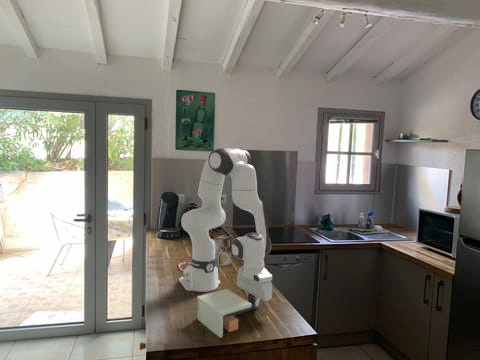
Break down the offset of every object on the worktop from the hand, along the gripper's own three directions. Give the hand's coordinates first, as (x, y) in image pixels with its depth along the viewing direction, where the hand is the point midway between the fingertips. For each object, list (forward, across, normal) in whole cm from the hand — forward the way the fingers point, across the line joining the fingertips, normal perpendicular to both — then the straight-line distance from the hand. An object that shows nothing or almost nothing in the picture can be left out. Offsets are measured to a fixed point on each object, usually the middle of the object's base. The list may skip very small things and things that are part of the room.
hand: (253, 303), depth 153 cm
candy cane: (+3, -62, 0) cm, 63 cm away
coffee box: (+2, -56, +20) cm, 60 cm away
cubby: (+2, +4, -18) cm, 18 cm away
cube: (+2, +9, -18) cm, 20 cm away
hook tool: (+2, +2, -8) cm, 8 cm away
